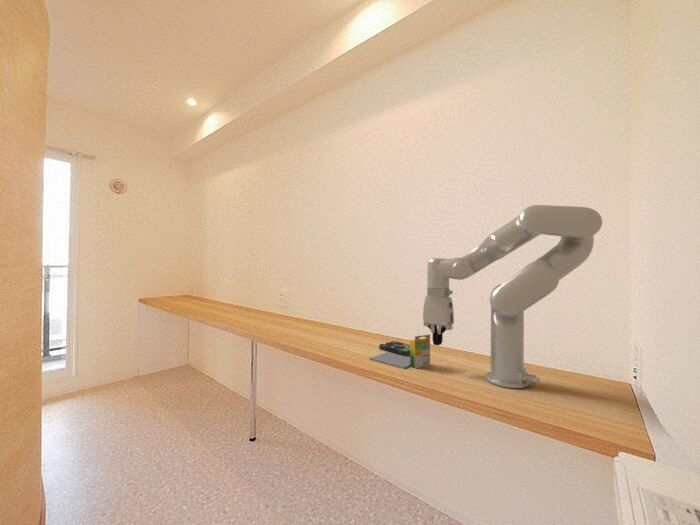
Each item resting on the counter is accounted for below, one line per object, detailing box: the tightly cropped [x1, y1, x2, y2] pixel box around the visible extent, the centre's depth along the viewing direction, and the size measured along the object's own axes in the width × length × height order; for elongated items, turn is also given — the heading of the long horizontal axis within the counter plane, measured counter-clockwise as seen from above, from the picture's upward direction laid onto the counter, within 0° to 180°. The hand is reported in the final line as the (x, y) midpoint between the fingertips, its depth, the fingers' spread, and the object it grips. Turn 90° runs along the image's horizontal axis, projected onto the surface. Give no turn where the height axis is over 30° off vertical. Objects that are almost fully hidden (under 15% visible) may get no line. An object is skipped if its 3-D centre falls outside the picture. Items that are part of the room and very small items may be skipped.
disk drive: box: [378, 340, 410, 357], centre depth 134 cm, size 10×3×15 cm
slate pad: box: [369, 351, 411, 370], centre depth 120 cm, size 16×12×1 cm
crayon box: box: [409, 334, 431, 369], centre depth 113 cm, size 7×3×12 cm, turn 117°
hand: (437, 344), depth 109 cm, fingers closed
